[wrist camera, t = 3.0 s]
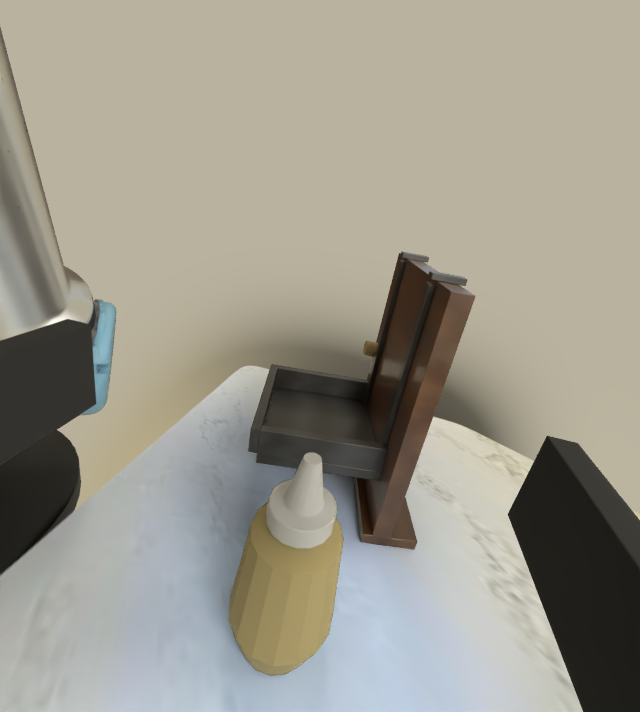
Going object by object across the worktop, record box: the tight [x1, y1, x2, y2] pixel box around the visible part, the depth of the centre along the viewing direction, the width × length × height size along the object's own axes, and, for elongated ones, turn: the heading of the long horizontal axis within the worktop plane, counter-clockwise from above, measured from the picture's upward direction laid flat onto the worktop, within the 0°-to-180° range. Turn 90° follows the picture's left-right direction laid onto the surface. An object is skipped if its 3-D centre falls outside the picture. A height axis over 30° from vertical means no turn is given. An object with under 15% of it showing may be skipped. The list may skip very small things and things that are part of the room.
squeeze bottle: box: [229, 452, 343, 675], centre depth 27 cm, size 8×8×18 cm
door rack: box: [248, 252, 475, 549], centre depth 44 cm, size 20×22×29 cm
